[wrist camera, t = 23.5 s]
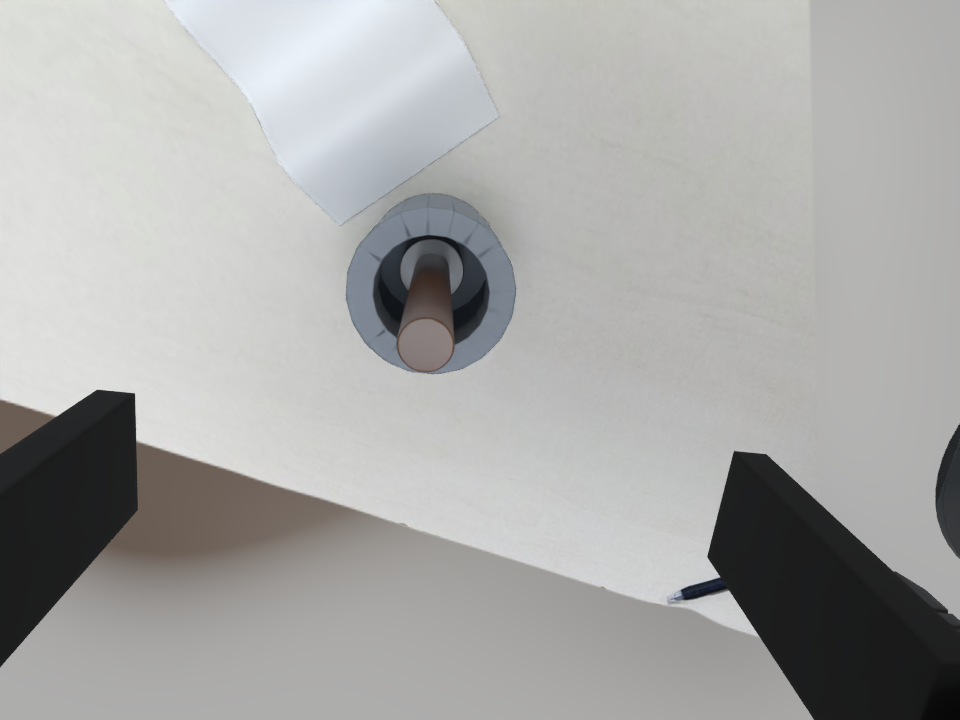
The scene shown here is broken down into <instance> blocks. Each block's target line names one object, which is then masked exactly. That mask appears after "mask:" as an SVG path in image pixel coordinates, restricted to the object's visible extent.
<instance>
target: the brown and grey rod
mask: <svg viewBox="0 0 960 720" xmlns="http://www.w3.org/2000/svg"><path fill="white" fill-rule="evenodd" d="M463 276H464V266H463V261H462V256H461V251H460V248H459V246H458V244H457V243H456V241H454V240H452V239H450V238H448V237H441V236H432V235H426V236H421V237H416V238H412V239H411V240H410V241H409V243H408V244H407V246H406V249H405V251H404V254H403V256H402V259H401V262H400V278H401V281H402V284H403V285H404V287H405V289H406V290H407V291H408V296H407V300H406V304H405V308H404V312H403V317H402V321H401V325H400V329H399V333H398V337H397V351H398V354H399V356H400V358H401V360H402V361H403V362H404V363H405V364H406V365H407V366H408V367H409V368H411V369H413V370H415V371H418V372H433V371H436V370H439V369H441V368H442V367H444V366H445V365H446V364H447V363H448V362H449V361H450V359H451V357H452V355H453V353H454V348H455V342H454V327H453V313H452V299H451V296H452V295H453V294H454V293H455V292H456V291H457V290H458V288H459V287H460V285H461V283H462V280H463Z"/></svg>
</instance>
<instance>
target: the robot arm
mask: <svg viewBox="0 0 960 720" xmlns="http://www.w3.org/2000/svg"><path fill="white" fill-rule="evenodd" d="M136 459H137V458H136V416H135V393H125V392H115V391H104V390H96V391H95V392H93V393H92V394H90V395H89V396H87V397H86V398H84V399H83V400H81V401H80V402H78V403H77V404H75V405H74V406H72V407H71V408H69V409H68V410H66V411H65V412H63V413H62V414H60V415H59V416H57V417H56V418H54V419H53V420H51V421H50V422H48V423H47V424H45V425H44V426H42V427H41V428H39V429H38V430H36V431H34V432H33V433H32V434H30V435H28V436H27V437H25V438H24V439H22V440H21V441H20V442H18V443H17V444H15V445H13V446H12V447H10V448H9V449H7V450H6V451H4V452H3V453H1V454H0V667H1V666H2V665H3V663H4V662H5V661H6V660H7V659H8V658H9V656H10V655H11V654H12V653H13V652H14V651H15V650H16V649H17V647H18V646H19V645H20V644H21V643H22V642H23V641H24V639H25V638H26V637H27V636H28V635H29V634H30V632H31V631H32V630H33V629H34V628H35V626H36V625H38V623H39V622H40V621H41V620H42V619H43V618H44V616H45V615H46V614H47V613H48V612H49V611H50V610H51V608H52V607H53V606H54V605H55V604H56V603H57V601H58V600H59V599H60V598H61V597H62V596H63V595H64V594H65V592H66V591H67V590H68V589H69V588H70V587H71V586H72V585H73V583H74V582H75V581H76V580H77V579H78V578H79V577H80V575H81V574H82V573H83V572H84V571H85V570H86V568H87V567H88V566H89V565H90V564H91V563H92V561H93V560H94V559H95V558H96V557H97V556H98V555H99V554H100V552H101V551H102V550H103V549H104V548H105V547H106V546H107V544H108V543H109V542H110V541H111V539H113V538H114V536H115V535H116V534H117V533H118V532H119V531H120V530H121V528H122V527H123V526H124V525H125V524H126V523H127V522H128V520H129V519H130V518H131V517H132V516H133V515H134V514H135V512H136V511H137V510H138V500H137V460H136ZM707 557H708V559H709V560H710V562H711V563H712V565H713V566H714V568H715V569H716V571H717V572H718V574H719V575H720V577H721V579H722V580H723V582H724V583H725V585H726V586H727V588H728V589H729V591H730V592H731V594H732V595H733V597H734V598H735V600H736V601H737V603H738V604H739V606H740V607H741V609H742V611H743V612H744V614H745V615H746V617H747V618H748V620H749V621H750V623H751V624H752V626H753V627H754V629H755V630H756V632H757V633H758V635H759V636H760V638H761V639H762V641H763V643H764V644H765V645H766V647H767V648H768V650H769V652H770V653H771V655H772V656H773V658H774V659H775V661H776V662H777V664H778V665H779V667H780V668H781V670H782V671H783V673H784V674H785V676H786V678H787V679H788V681H789V682H790V684H791V685H792V686H793V688H794V690H795V691H796V693H797V694H798V696H799V697H800V699H801V700H802V702H803V703H804V705H805V706H806V708H807V709H808V711H809V713H810V714H811V716H812V717H813V719H814V720H960V620H959V619H957V618H956V617H955V616H954V615H953V614H948V610H947V609H946V608H945V607H944V606H943V605H942V604H941V603H940V602H938V601H937V600H936V599H935V598H934V597H933V596H932V595H931V594H930V593H928V592H927V591H926V590H925V589H923V588H922V587H920V586H918V585H916V584H915V583H913V582H912V581H910V580H908V579H907V578H905V577H904V576H902V575H900V574H899V573H897V572H893V571H892V570H891V569H890V568H889V567H887V565H886V564H885V563H883V562H882V561H881V560H880V559H879V558H878V557H877V556H876V555H875V554H874V553H872V551H870V550H869V549H868V548H867V547H866V546H865V545H864V544H863V543H861V541H860V540H858V539H857V538H856V537H855V536H854V535H853V534H852V533H851V532H850V531H849V530H848V529H847V528H845V527H844V526H843V525H842V524H841V523H840V522H839V521H838V520H837V519H836V518H835V517H833V515H831V514H830V513H829V512H828V511H827V510H826V509H825V508H824V507H823V506H822V505H821V504H820V503H818V502H817V501H816V500H815V499H814V498H813V497H812V496H811V495H810V494H809V493H808V492H807V491H805V490H804V489H803V488H802V487H801V486H800V485H799V484H798V483H797V482H796V481H795V480H794V479H792V478H791V477H790V476H789V475H788V474H787V473H786V472H785V471H784V470H783V469H782V468H781V467H779V466H778V465H777V464H776V463H775V462H774V461H773V460H772V459H771V458H770V457H769V456H768V455H766V454H758V453H747V452H737V451H734V453H733V457H732V461H731V465H730V469H729V473H728V477H727V481H726V485H725V489H724V493H723V497H722V501H721V505H720V509H719V513H718V517H717V520H716V524H715V528H714V532H713V536H712V540H711V544H710V548H709V552H708V556H707Z"/></svg>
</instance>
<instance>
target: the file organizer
mask: <svg viewBox="0 0 960 720" xmlns="http://www.w3.org/2000/svg"><path fill="white" fill-rule="evenodd" d="M164 2H165V3H166V5H167V6H168V8H169V9H170V11H171V12H172V13H173V15H174V16H175V17H176V19H177V20H178V21H179V22H180V23H181V25H182V26H183V27H184V28H185V29H186V30H187V32H188V33H189V34H190V35H191V36H192V37H193V38H194V39H195V40H196V42H197V43H198V44H199V45H200V46H201V47H202V48H203V49H204V50H205V51H206V52H207V53H208V54H209V55H210V56H211V57H212V58H213V59H214V61H215V62H216V63H217V64H218V65H219V66H220V67H221V68H222V69H223V70H224V71H225V72H226V73H227V74H228V76H229V77H230V78H231V79H232V80H233V81H234V82H235V84H236V85H237V86H238V87H239V88H240V90H241V91H242V92H243V94H244V95H245V96H246V98H247V99H248V101H249V102H250V104H251V106H252V108H253V110H254V113H255V115H256V117H257V119H258V121H259V123H260V125H261V127H262V129H263V131H264V133H265V135H266V137H267V139H268V142H269V144H270V146H271V148H272V150H273V152H274V154H275V156H276V158H277V160H278V161H279V163H280V164H281V166H282V167H283V169H284V170H285V171H286V173H287V174H288V175H289V176H290V178H291V179H292V180H293V181H294V182H295V183H296V184H297V185H298V186H299V187H300V188H301V189H302V190H303V191H304V192H305V193H306V194H307V195H308V196H309V197H310V198H311V199H312V200H313V201H314V202H315V203H316V204H317V205H318V206H319V207H320V208H321V209H322V210H323V211H324V212H325V213H326V214H328V215H329V216H330V217H331V218H332V219H333V220H334V221H335V222H336V223H337V224H338V225H339V226H340V225H342V224H343V223H345V222H346V221H348V220H349V219H351V218H352V217H354V216H355V215H356V214H358V213H359V212H361V211H362V210H364V209H365V208H367V207H368V206H370V205H371V204H373V203H374V202H375V201H377V200H378V199H380V198H381V197H383V196H384V195H386V194H387V193H389V192H390V191H392V190H393V189H394V188H396V187H397V186H399V185H400V184H402V183H403V182H405V181H406V180H408V179H409V178H410V177H412V176H413V175H415V174H416V173H418V172H419V171H421V170H422V169H424V168H425V167H427V166H428V165H429V164H431V163H432V162H434V161H435V160H437V159H438V158H440V157H441V156H443V155H444V154H446V153H447V152H448V151H450V150H451V149H453V148H454V147H456V146H457V145H459V144H460V143H462V142H463V141H465V140H466V139H467V138H469V137H470V136H472V135H473V134H475V133H476V132H478V131H479V130H481V129H482V128H483V127H485V126H486V125H488V124H489V123H491V122H492V121H494V120H495V119H497V118H498V117H500V116H499V114H498V112H497V110H496V107H495V105H494V103H493V101H492V99H491V96H490V94H489V92H488V90H487V88H486V85H485V83H484V81H483V79H482V77H481V75H480V73H479V70H478V68H477V66H476V64H475V62H474V60H473V58H472V56H471V54H470V52H469V50H468V49H467V47H466V45H465V43H464V42H463V40H462V38H461V37H460V35H459V34H458V32H457V31H456V29H455V28H454V26H453V25H452V23H451V22H450V21H449V19H448V18H447V17H446V16H445V14H444V13H443V12H442V10H441V9H440V8H439V6H438V5H437V3H436V2H435V1H434V0H164Z"/></svg>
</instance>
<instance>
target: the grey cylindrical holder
mask: <svg viewBox="0 0 960 720" xmlns="http://www.w3.org/2000/svg"><path fill="white" fill-rule="evenodd" d="M426 235H432V236H441V237H448V238H450V239H452V240H454V241H456V243H457V244H458V246H459V248H460V251H461V256H462V261H463V266H464V276H463V280H462V283H461V285H460V287H459V288H458V290H457V291H456V292H455V293H454V294H453V295H452V296H451V299H452V313H453V327H454V342H455V348H454V353H453V355H452V357H451V359H450V361H449V362H448V363H447V364H446V365H445V366H444V367H442V368H441V369H439V370H436V371H433V372H418V371H415V370H413V369H411V368H409V367H408V366H407V365H406V364H405V363H404V362H403V361H402V360H401V358H400V356H399V354H398V351H397V337H398V333H399V329H400V325H401V321H402V317H403V312H404V308H405V304H406V300H407V296H408V291H407V290H406V289H405V287H404V285H403V284H402V281H401V278H400V262H401V259H402V256H403V254H404V251H405V249H406V246H407V244H408V243H409V241H410V240H411V239H412V238H416V237H421V236H426ZM515 296H516V286H515V280H514V274H513V268H512V265H511V262H510V260H509V258H508V256H507V254H506V253H505V251H504V249H503V247H502V245H501V243H500V242H499V240H498V239H497V237H496V236H495V234H494V233H493V231H492V230H491V228H490V227H489V225H488V224H487V222H486V221H485V219H484V218H483V217H482V216H481V215H480V214H479V213H478V212H477V211H476V210H475V209H473V208H472V207H471V206H470V205H468V204H467V203H465V202H463V201H461V200H459V199H457V198H454V197H451V196H448V195H443V194H423V195H418V196H414V197H411V198H409V199H407V200H405V201H403V202H401V203H399V204H398V205H396V206H395V207H393V208H392V209H391V210H390V211H389V212H388V213H387V214H386V215H385V216H384V217H383V219H382V220H381V221H380V222H379V223H378V224H377V225H376V226H375V227H374V228H373V229H372V231H371V232H370V233H369V234H368V235H367V236H366V237H365V238H364V240H363V241H362V242H361V243H360V244H359V246H358V247H357V249H356V252H355V254H354V256H353V259H352V261H351V264H350V266H349V268H348V272H347V285H346V300H347V304H348V308H349V312H350V316H351V320H352V322H353V325H354V326H355V328H356V329H357V331H358V333H359V334H360V336H361V337H362V339H363V340H364V342H365V343H366V344H367V346H368V347H369V348H371V349H372V350H373V351H374V352H375V353H377V354H378V355H379V356H380V357H381V358H382V359H384V360H385V361H387V362H388V363H390V364H393V365H395V366H397V367H400V368H402V369H404V370H407V371H411V372H417V373H427V374H435V373H436V374H441V373H446V372H451V371H456V370H460V369H463V368H465V367H467V366H468V365H470V364H472V363H474V362H476V361H478V360H480V359H481V358H483V356H485V355H486V354H487V353H488V352H489V351H490V350H491V349H492V348H493V347H494V346H495V345H496V344H497V343H498V342H499V341H500V338H502V336H503V334H504V332H505V330H506V328H507V326H508V324H509V322H510V320H511V318H512V315H513V309H514V302H515Z"/></svg>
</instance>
